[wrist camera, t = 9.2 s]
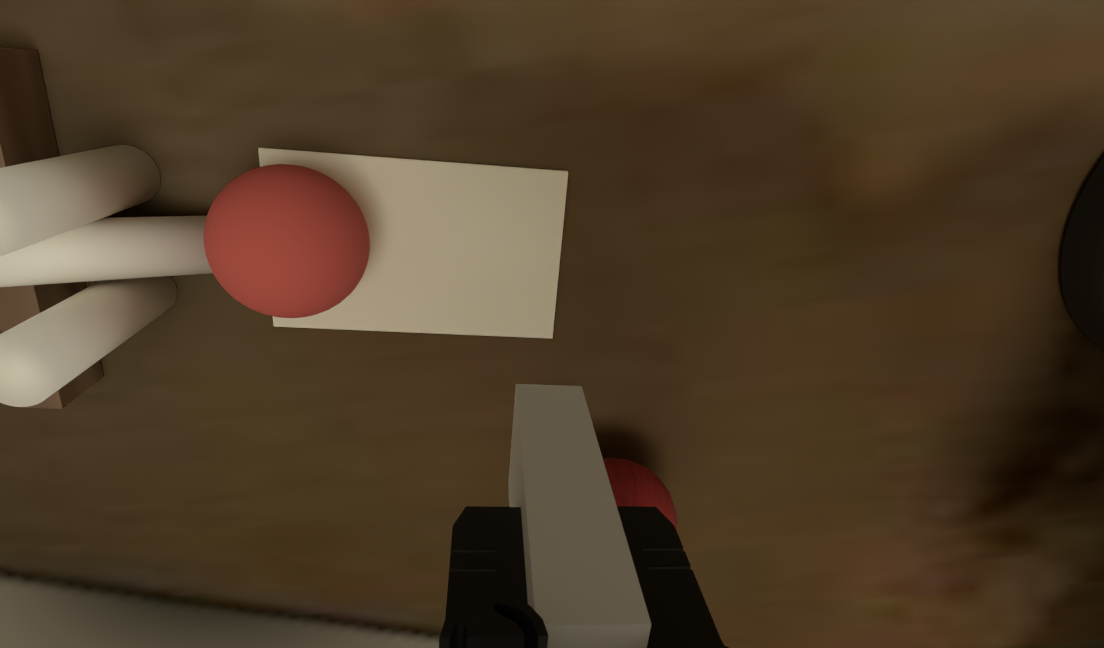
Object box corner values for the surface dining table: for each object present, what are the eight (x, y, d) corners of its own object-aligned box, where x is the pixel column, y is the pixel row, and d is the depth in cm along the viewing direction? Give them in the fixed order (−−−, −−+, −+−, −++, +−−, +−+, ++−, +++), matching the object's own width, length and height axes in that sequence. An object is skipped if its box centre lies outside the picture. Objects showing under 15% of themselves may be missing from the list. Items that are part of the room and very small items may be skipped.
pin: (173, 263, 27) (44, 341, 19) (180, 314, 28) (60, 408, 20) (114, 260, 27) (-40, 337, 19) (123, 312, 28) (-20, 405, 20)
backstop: (37, 50, 24) (-23, 47, 21) (103, 376, 29) (62, 408, 26) (-9, 46, 23) (-76, 42, 21) (66, 375, 29) (21, 407, 26)
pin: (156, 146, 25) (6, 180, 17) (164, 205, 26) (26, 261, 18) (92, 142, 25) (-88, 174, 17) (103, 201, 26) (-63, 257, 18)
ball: (169, 148, 22) (306, 165, 28) (168, 308, 24) (299, 295, 29) (277, 164, 20) (407, 179, 25) (270, 344, 21) (395, 323, 26)
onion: (568, 529, 35) (590, 652, 27) (535, 449, 33) (548, 560, 25) (666, 496, 35) (714, 612, 27) (639, 413, 32) (683, 514, 25)
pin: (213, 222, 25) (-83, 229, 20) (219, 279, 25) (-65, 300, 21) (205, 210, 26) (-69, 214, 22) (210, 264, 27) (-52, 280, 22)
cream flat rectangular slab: (567, 171, 27) (568, 171, 27) (552, 336, 30) (552, 338, 30) (259, 147, 26) (258, 147, 25) (274, 324, 29) (273, 326, 28)
